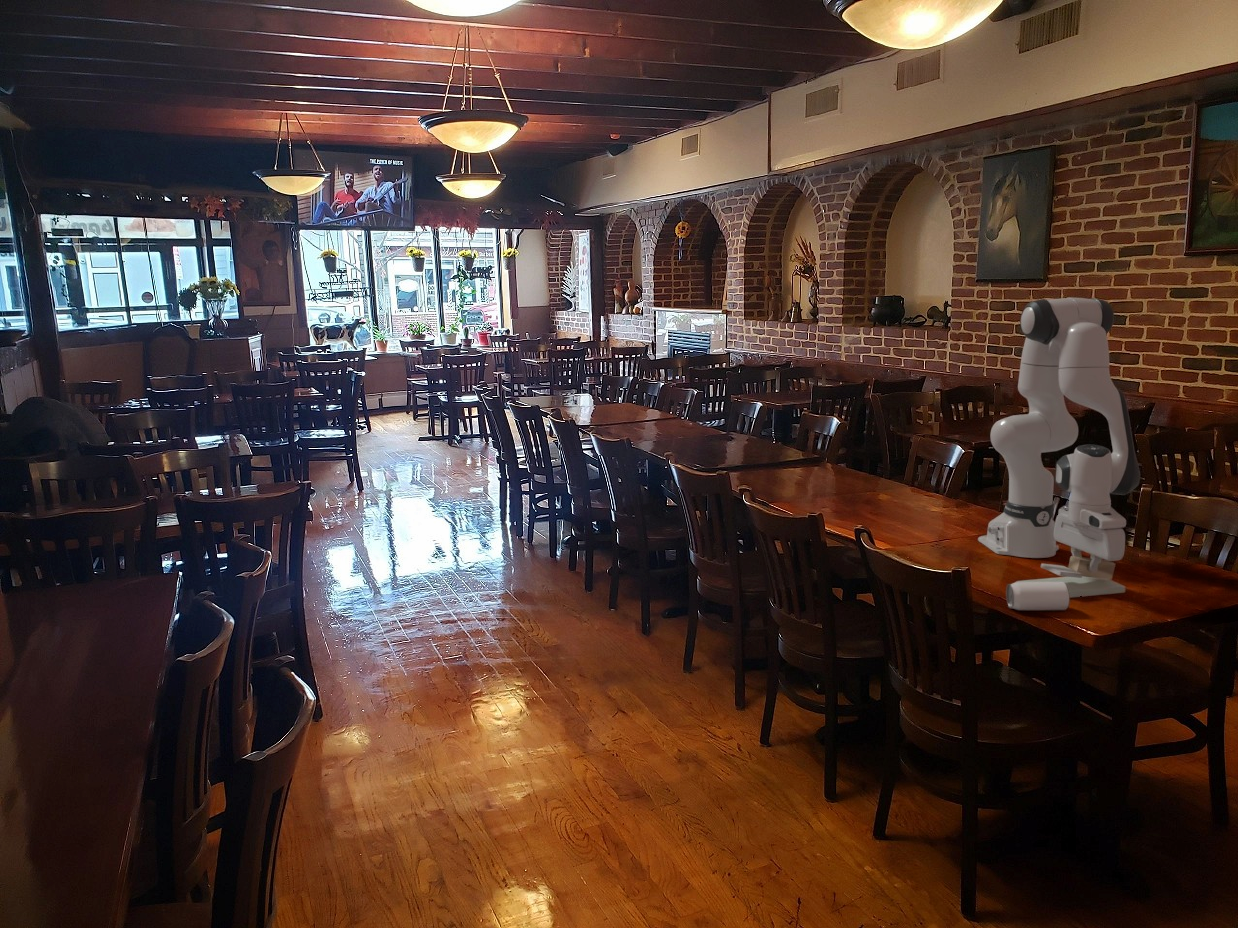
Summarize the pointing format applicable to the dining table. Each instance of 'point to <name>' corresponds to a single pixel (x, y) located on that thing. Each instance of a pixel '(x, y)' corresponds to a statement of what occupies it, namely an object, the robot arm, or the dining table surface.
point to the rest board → (1085, 585)
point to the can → (1038, 596)
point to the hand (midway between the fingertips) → (1085, 568)
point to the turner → (1082, 568)
